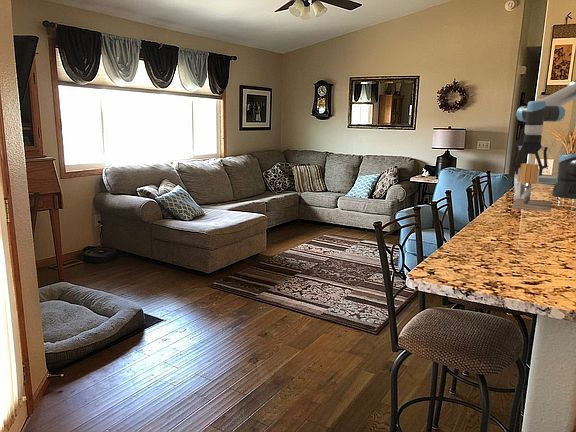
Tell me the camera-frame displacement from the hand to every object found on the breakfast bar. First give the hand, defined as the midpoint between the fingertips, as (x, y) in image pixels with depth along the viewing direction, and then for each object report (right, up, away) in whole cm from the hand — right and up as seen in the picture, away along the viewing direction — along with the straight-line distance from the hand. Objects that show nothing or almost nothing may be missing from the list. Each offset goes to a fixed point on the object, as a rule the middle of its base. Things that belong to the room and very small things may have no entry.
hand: (527, 181), depth 222 cm
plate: (+1, -13, -1) cm, 13 cm away
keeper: (+9, 0, +5) cm, 11 cm away
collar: (0, 0, 0) cm, 0 cm away
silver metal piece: (+3, -9, +6) cm, 12 cm away
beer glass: (+6, -8, +20) cm, 22 cm away
